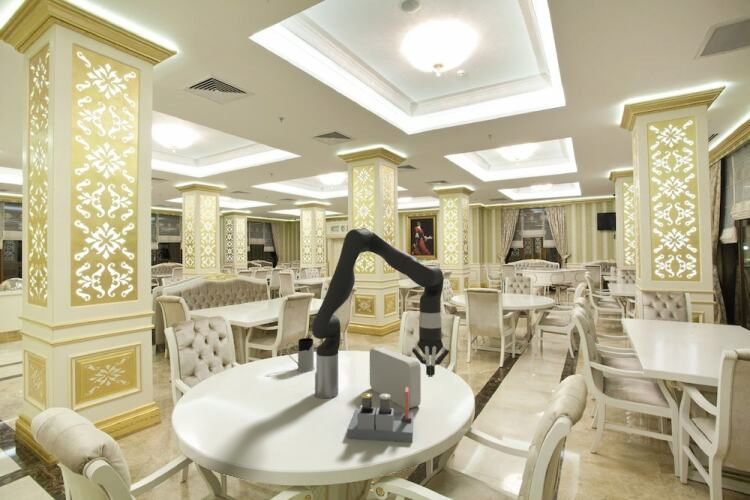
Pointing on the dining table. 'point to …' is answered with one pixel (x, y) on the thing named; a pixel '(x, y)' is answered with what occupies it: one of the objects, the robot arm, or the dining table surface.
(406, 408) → the red lever
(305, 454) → the dining table surface
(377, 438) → the console
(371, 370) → the rounded white slab
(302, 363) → the grey mug
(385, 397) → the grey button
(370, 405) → the brass button
